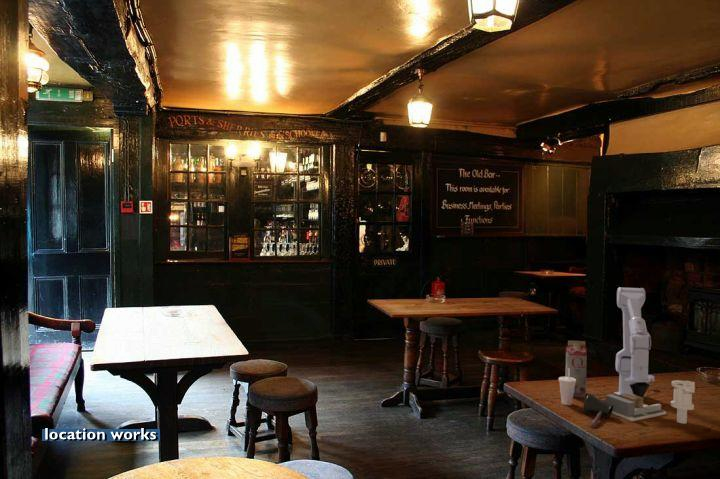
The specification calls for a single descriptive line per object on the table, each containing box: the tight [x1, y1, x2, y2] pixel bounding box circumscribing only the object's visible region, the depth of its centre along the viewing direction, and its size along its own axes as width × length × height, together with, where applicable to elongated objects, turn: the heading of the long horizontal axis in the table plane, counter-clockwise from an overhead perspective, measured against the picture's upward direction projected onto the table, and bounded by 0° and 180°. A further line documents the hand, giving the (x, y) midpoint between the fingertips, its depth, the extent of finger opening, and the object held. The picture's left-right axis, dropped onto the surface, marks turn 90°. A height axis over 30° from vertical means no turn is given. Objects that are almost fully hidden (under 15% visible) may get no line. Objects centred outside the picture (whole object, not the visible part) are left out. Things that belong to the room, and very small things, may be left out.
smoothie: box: [558, 368, 576, 406], centre depth 211 cm, size 6×6×14 cm
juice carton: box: [564, 340, 588, 398], centre depth 223 cm, size 7×7×22 cm
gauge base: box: [604, 393, 667, 422], centre depth 203 cm, size 18×13×6 cm
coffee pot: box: [582, 393, 613, 429], centre depth 195 cm, size 8×18×8 cm
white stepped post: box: [670, 380, 696, 425], centre depth 193 cm, size 7×7×15 cm
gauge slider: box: [619, 393, 647, 409], centre depth 201 cm, size 5×9×5 cm, turn 25°
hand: (638, 401), depth 204 cm, fingers closed
